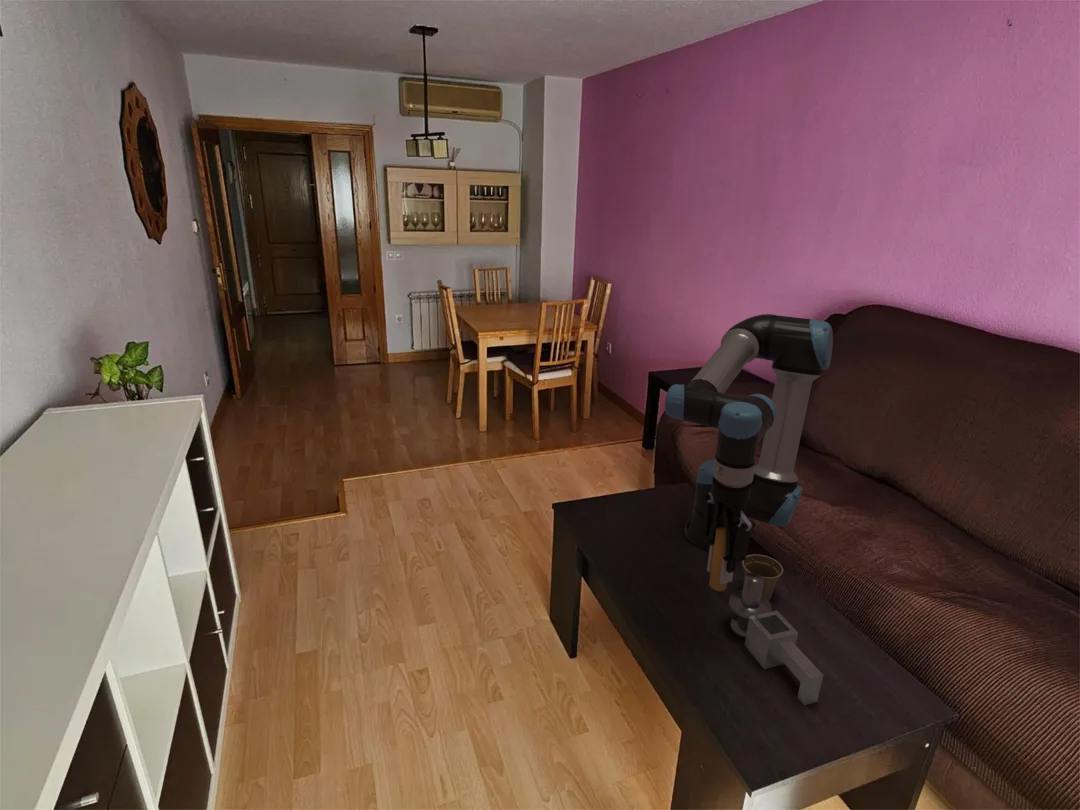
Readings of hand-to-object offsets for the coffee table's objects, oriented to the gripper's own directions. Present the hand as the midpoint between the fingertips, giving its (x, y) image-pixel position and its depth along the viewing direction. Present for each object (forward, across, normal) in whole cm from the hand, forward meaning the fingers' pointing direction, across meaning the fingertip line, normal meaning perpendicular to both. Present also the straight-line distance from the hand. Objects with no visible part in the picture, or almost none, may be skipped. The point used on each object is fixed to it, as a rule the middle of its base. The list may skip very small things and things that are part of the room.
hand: (719, 575), depth 125 cm
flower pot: (+18, -8, +20) cm, 28 cm away
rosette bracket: (+17, +8, +9) cm, 21 cm away
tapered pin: (+3, 0, 0) cm, 3 cm away
